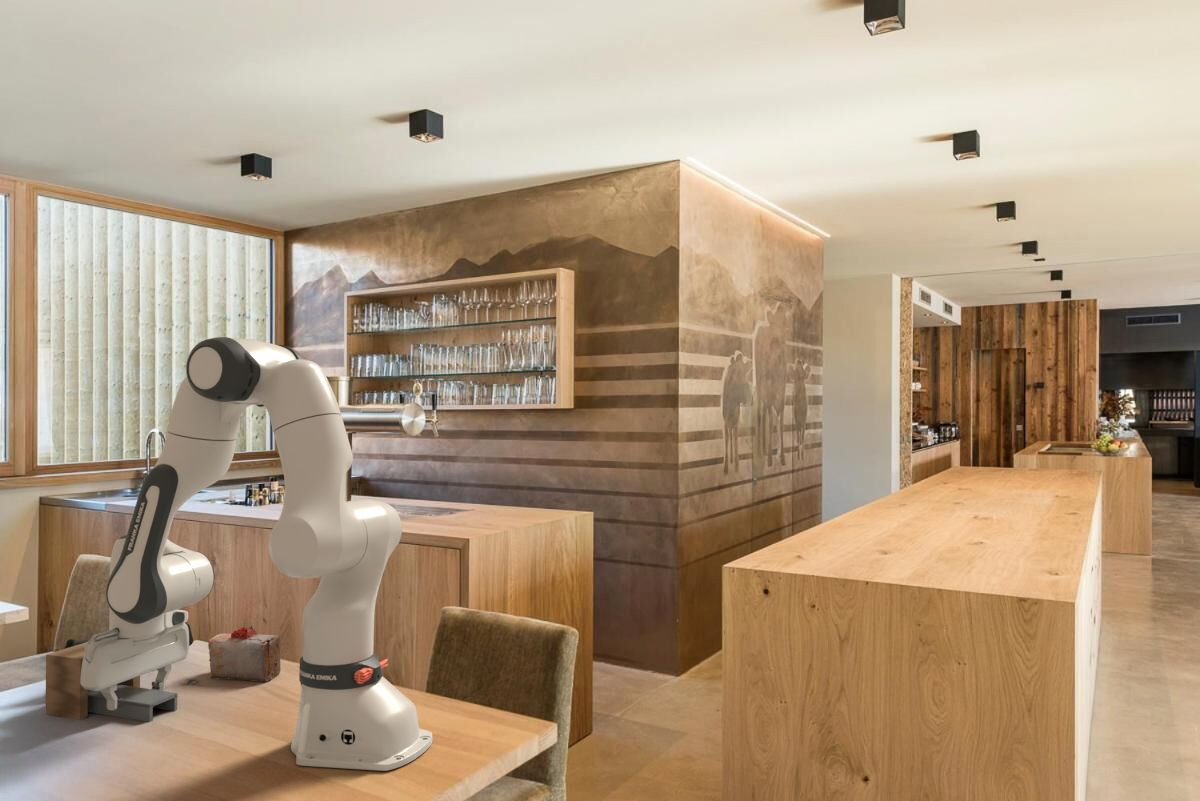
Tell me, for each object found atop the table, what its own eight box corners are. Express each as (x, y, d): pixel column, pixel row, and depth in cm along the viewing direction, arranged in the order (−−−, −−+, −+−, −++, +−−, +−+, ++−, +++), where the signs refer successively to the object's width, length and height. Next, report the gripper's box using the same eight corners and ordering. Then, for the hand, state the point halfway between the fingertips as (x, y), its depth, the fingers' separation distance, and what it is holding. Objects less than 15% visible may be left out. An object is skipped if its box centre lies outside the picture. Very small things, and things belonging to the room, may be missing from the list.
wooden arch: (139, 695, 156) (140, 639, 156) (79, 719, 144) (80, 659, 144) (107, 690, 159) (107, 635, 159) (45, 714, 147) (46, 654, 147)
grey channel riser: (177, 709, 149) (177, 693, 150) (149, 721, 144) (149, 704, 144) (92, 696, 156) (92, 680, 156) (62, 707, 150) (62, 691, 150)
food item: (201, 680, 165) (201, 631, 165) (225, 668, 173) (226, 620, 173) (264, 685, 163) (264, 634, 163) (286, 672, 171) (286, 624, 171)
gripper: (100, 639, 138) (99, 722, 138) (195, 610, 157) (194, 683, 157) (71, 635, 140) (70, 718, 140) (169, 607, 159) (168, 680, 159)
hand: (137, 699), depth 149 cm, fingers open, 8 cm apart
